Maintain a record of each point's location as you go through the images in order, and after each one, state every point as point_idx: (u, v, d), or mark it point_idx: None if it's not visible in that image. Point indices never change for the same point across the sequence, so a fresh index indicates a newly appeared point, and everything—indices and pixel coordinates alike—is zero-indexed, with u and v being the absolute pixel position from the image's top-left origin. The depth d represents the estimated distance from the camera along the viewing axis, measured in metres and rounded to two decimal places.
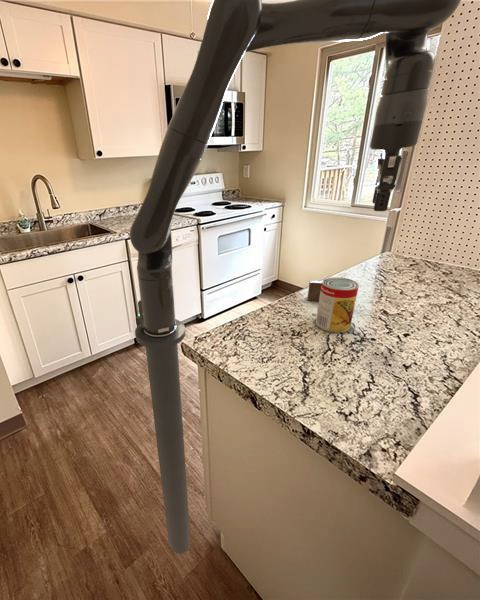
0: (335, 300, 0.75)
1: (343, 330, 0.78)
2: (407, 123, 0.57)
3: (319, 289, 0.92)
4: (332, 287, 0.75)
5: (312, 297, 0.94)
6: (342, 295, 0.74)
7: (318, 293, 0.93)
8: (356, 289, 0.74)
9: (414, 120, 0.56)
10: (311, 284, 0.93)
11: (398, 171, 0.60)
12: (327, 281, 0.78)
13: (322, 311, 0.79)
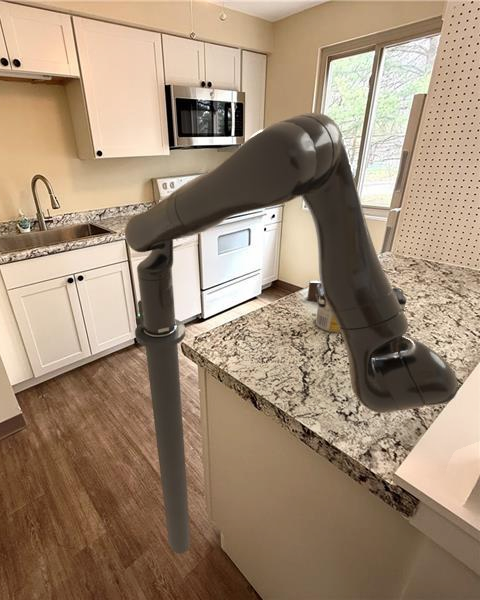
0: None
1: None
2: None
3: None
4: None
5: (312, 297, 0.94)
6: None
7: None
8: None
9: None
10: (311, 284, 0.93)
11: None
12: None
13: (322, 311, 0.79)
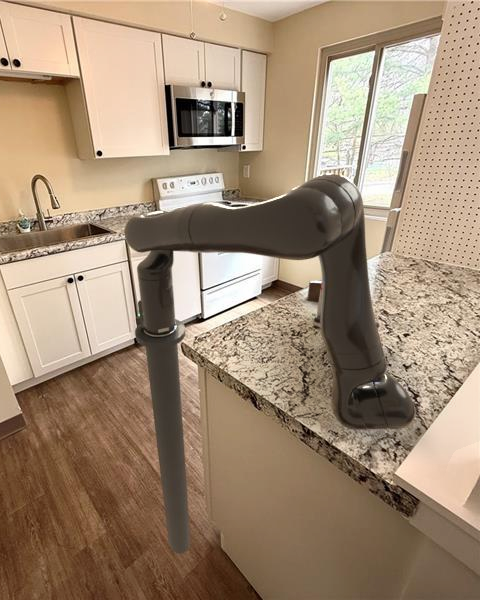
0: None
1: None
2: None
3: (319, 289, 0.92)
4: None
5: (312, 297, 0.94)
6: None
7: (318, 293, 0.93)
8: None
9: None
10: (311, 284, 0.93)
11: None
12: None
13: None
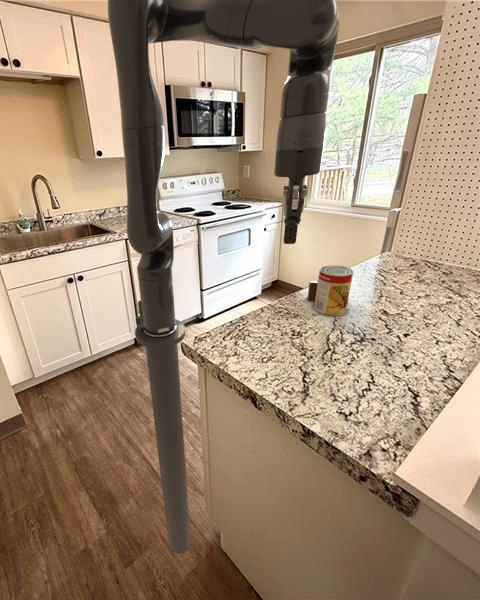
0: (330, 285, 0.83)
1: (338, 313, 0.85)
2: (308, 150, 0.51)
3: None
4: (328, 273, 0.83)
5: (312, 297, 0.94)
6: (337, 281, 0.82)
7: None
8: (350, 275, 0.81)
9: (315, 146, 0.51)
10: (311, 284, 0.93)
11: (303, 205, 0.56)
12: (325, 268, 0.86)
13: (319, 296, 0.87)
